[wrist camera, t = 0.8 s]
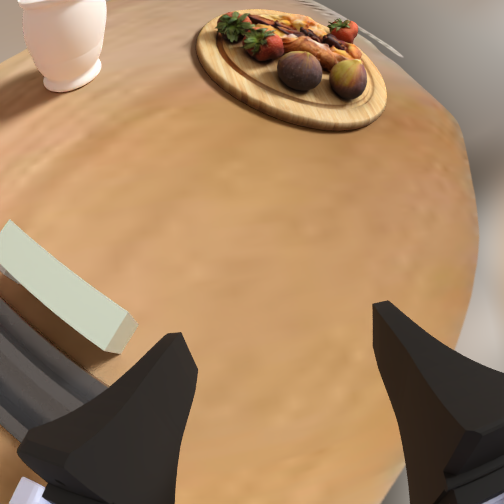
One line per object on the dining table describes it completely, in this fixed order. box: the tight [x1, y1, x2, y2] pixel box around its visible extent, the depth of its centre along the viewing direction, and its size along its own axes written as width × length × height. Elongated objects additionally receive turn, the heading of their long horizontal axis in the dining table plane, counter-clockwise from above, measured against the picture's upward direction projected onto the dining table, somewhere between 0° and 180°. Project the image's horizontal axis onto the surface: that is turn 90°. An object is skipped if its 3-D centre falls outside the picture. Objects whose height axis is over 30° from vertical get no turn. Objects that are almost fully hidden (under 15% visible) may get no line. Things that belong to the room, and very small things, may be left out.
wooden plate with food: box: [196, 9, 387, 131], centre depth 40 cm, size 32×32×8 cm
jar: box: [18, 0, 106, 92], centre depth 25 cm, size 11×10×15 cm
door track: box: [0, 297, 109, 442], centre depth 18 cm, size 20×10×3 cm, turn 62°
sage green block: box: [0, 219, 139, 354], centre depth 21 cm, size 12×4×7 cm, turn 62°
